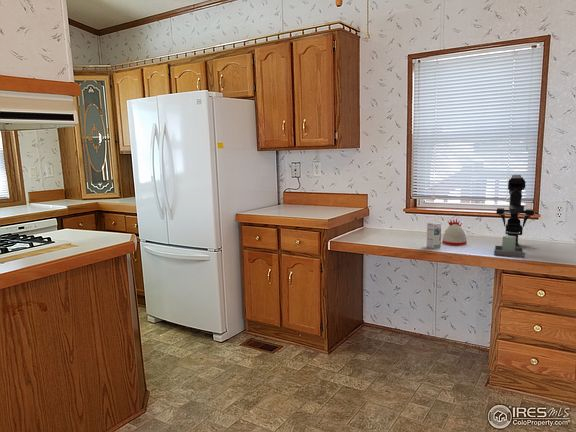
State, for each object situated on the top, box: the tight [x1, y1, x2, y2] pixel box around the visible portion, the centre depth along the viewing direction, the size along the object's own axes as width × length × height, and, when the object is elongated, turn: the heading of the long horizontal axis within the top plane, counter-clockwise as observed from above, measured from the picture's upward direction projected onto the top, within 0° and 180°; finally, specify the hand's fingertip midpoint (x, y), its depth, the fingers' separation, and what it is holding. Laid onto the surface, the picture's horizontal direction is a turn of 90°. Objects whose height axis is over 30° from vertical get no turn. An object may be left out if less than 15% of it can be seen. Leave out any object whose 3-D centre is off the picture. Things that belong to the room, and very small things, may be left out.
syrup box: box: [426, 221, 442, 249], centre depth 265 cm, size 6×6×14 cm
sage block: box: [501, 234, 516, 252], centre depth 245 cm, size 5×5×9 cm
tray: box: [493, 244, 524, 258], centre depth 246 cm, size 14×14×2 cm
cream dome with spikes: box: [442, 218, 468, 246], centre depth 274 cm, size 14×14×15 cm
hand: (513, 226), depth 254 cm, fingers open, 9 cm apart
